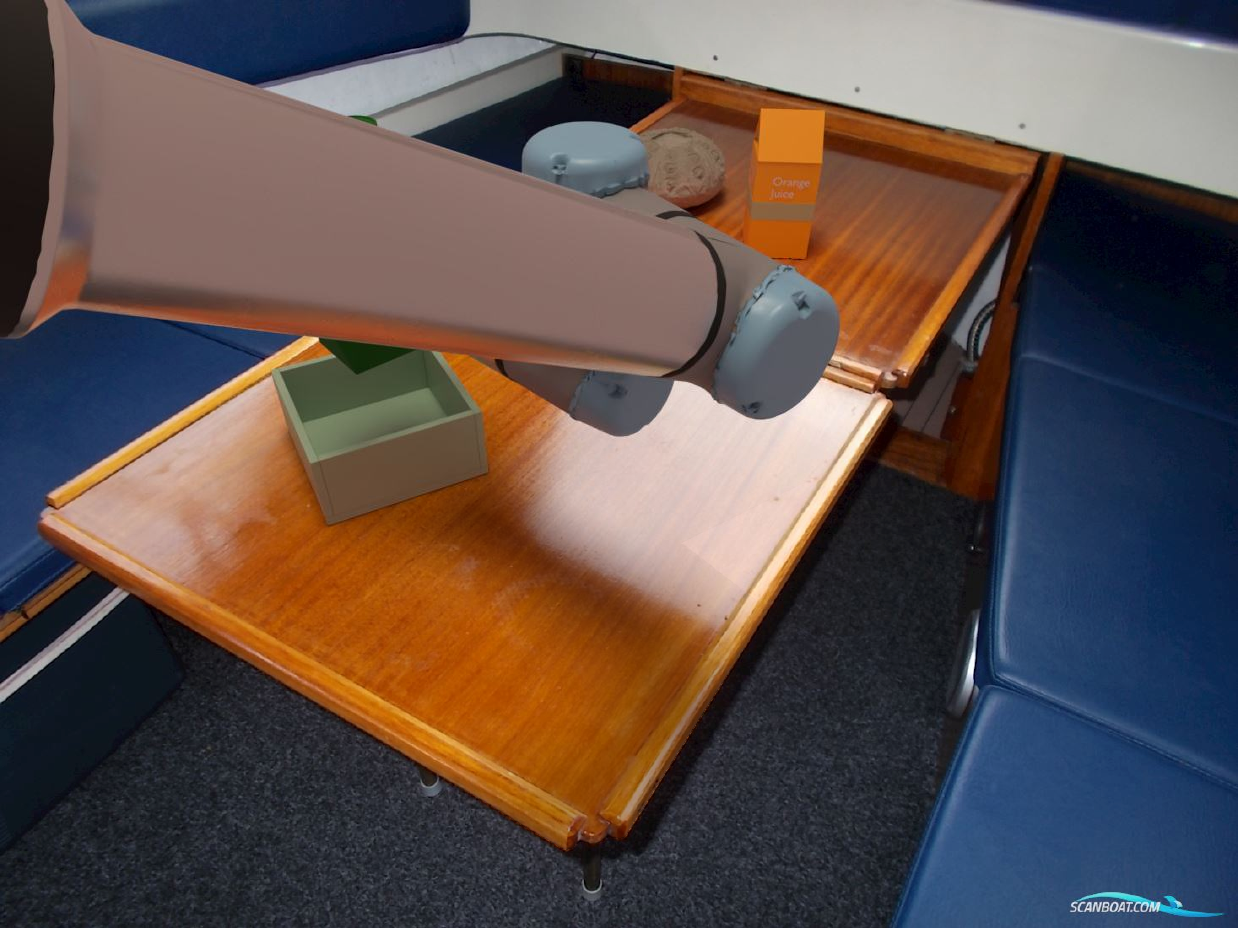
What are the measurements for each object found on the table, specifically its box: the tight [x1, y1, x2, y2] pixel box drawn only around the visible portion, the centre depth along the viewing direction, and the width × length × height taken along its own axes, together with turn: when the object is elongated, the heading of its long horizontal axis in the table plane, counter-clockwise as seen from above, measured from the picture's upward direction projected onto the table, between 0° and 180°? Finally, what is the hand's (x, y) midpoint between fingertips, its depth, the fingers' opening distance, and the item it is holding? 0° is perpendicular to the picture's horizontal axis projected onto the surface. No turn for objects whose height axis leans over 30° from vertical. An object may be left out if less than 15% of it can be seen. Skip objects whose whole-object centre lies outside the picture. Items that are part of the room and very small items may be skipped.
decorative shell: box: [637, 126, 727, 210], centre depth 137 cm, size 18×18×10 cm
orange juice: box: [742, 107, 826, 259], centre depth 122 cm, size 8×9×20 cm
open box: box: [270, 349, 489, 527], centre depth 89 cm, size 17×17×8 cm
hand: (318, 220), depth 76 cm, fingers closed on soya milk, 9 cm apart
